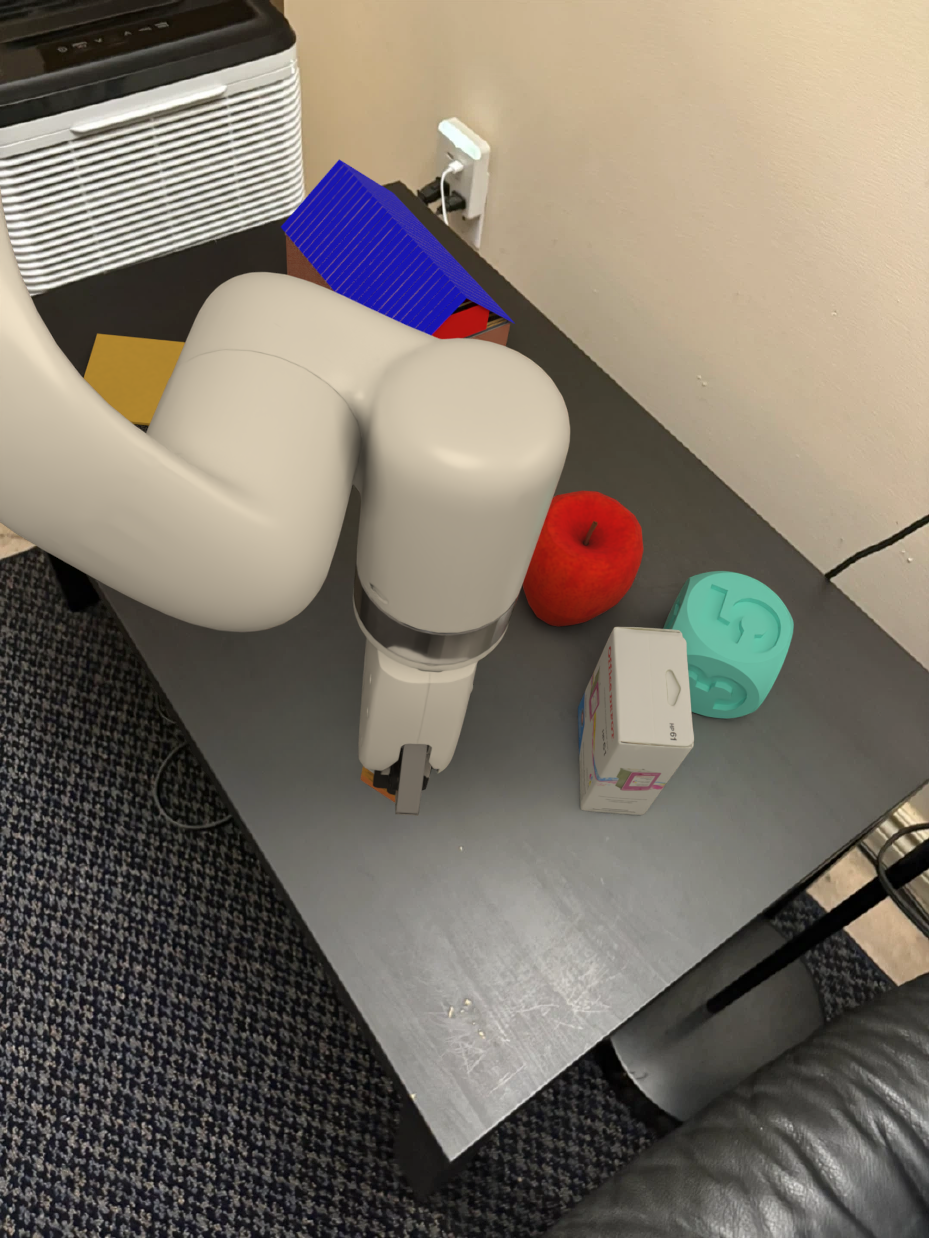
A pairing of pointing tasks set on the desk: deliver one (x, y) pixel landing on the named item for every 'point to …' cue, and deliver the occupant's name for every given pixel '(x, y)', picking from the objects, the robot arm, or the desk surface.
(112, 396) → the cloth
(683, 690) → the ink box
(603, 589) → the apple
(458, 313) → the house
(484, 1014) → the desk surface
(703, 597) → the decorative dice
